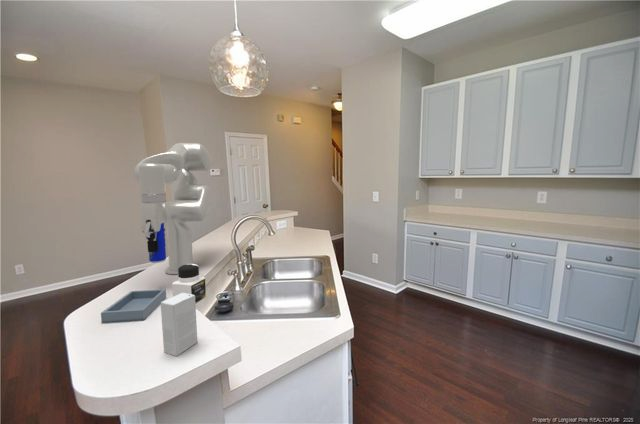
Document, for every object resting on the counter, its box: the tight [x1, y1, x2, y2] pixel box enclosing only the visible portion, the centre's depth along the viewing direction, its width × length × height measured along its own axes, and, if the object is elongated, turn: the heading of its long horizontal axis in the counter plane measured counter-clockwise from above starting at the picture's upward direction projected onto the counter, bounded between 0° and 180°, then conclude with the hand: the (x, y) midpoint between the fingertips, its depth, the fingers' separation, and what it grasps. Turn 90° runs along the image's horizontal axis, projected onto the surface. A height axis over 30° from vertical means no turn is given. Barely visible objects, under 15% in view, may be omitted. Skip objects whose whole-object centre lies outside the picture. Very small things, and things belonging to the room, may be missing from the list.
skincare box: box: [160, 293, 198, 357], centre depth 62 cm, size 6×4×12 cm
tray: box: [100, 288, 167, 324], centre depth 82 cm, size 16×11×3 cm
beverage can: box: [148, 221, 167, 264], centre depth 95 cm, size 5×5×15 cm
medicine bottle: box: [171, 263, 207, 305], centre depth 87 cm, size 7×7×12 cm
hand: (157, 249), depth 96 cm, fingers closed on beverage can, 5 cm apart
